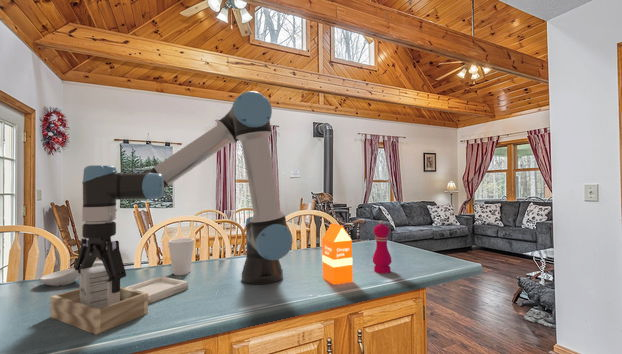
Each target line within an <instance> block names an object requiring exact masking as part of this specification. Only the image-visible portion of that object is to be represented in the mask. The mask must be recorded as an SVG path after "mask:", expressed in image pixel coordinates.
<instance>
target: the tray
mask: <svg viewBox="0 0 622 354" xmlns="http://www.w3.org/2000/svg"><path fill="white" fill-rule="evenodd" d="M125 288H129V289H133V290H137V291H141V292H145V293H148V305H149V304H153V303H154V302H157V301H160V300H162V299H165V298H168V297H170V296H173V295H176V294H178V293H181V292H183V291H186V290H188V289H189V281H187V280H182V279H177V278H171V277H166V276H161V275H160V276H157V277H154V278H151V279H148V280H145V281H142V282H138V283H135V284H131V285H129V286H126V287H125Z"/></svg>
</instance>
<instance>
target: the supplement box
mask: <svg viewBox="0 0 622 354" xmlns="http://www.w3.org/2000/svg"><path fill="white" fill-rule="evenodd" d="M108 279H109V276H108V274H107V272H106V269H105V267H104V265H96V266H92V267H91V268H86V269H81V304H84V305H88V306H91V307H94V308H97V309H99V308H102V307H105V306H107V287H108V282H107V281H108Z"/></svg>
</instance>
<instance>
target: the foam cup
mask: <svg viewBox="0 0 622 354" xmlns="http://www.w3.org/2000/svg"><path fill="white" fill-rule="evenodd" d="M167 244H168V250H169V256H170V263H171V264H170V265H171V271H172V274H174V276H182V275H187V274H190V273H191V267H192V260H193V252H194V246H195V239H194V238H192V237H191V238H190V237H181V238H174V239H170V240H168V243H167ZM189 272H190V273H189Z"/></svg>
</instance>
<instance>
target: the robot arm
mask: <svg viewBox="0 0 622 354" xmlns="http://www.w3.org/2000/svg"><path fill="white" fill-rule="evenodd" d="M272 112H273V111H272V104H271V103H270V101H269V99H268V98H267V97H266V96H265V95H263V94H262V93H260V92H258V91H254V90H253V91H249V90H248V91H245V92H242V93H241V94H240V95H238V96H236V98H235V99H234V101H233V104H232V106H231V108H230V110H229V111H228V112H227V113H226V114H225V115H224V116H223V117H222V118H221V119H219V120H218V121H216V122H217V123H216V125H214V126H213V128H211V129H209V130H208V131H206V132H205V133H204V134H201V136H199V137H196V139H194V140H193V141H191V142H190V143H188V144H186V145H184V147H183V148H180V150H178V151H176V152H175V153H174V154H172V155H170V156H168V157H167V158H166V159H164V160H163V161H161V162H159V163H158V164H156V165H155V166H154V167H152V168H151V169H149V170H147V171H145V172H133V173H132V172H127V173H126V172H125V173H124V172H118V170H117V167H116V166H114V165H95V164H94V165H87V166H85V167H84V169H83V174H82V175H83V178H82V206H81V207H82V216H81V217H82V219H81V221H82V222H83V224H82V230H81V232H82V237H83V238H81V240H80V247H79V252H78V255H77V259H76V262H75V266H74V268H75V270H78V273H79V274H80V277H79V288H80V298H81V269H86V268H91V267H93V266H92V265H93V263H94V262H95V261H97V258H98V260H99V261H102V262H103V265H104V267H105V269H106V272H107V274H108V276H109V279H108V281H107V282H108V287H107V306H108V305H111V304H114V303H116V302H119V301H120V286H121V280H122V279H123V278H126V277H127V272H126V269H125V266H124V262H123V258H122V253H121V250H120V241H119V240H114V241H113V240H112V237H113V236H115V235H116V234H117V222H115V220H116V219H117V210H118V209H117V208H116V207H117V200H120V201H121V200H149V201H150V200H155V199H156V200H157V199H161V198H163V197H164V193H165V189H166V188H167V187H168V186H170V185H172V184H173V183H174V182H176V181H177V180H178V179H180V178H181V177H183V176H184V175H186V174H187V173H189V172H190V171H192V170H193V169H194V168H196V167H197V166H199V165H200V164H202V163H203V162H205V161H206V160H207V159H209V158H211V157H212V156H213V155H214V154H216V153H218V152H219V151H221V150H222V149H223V148H225V147H227V146H228V145H229V144H233V145H235V144H236V143H237V142H238V141H239V142H240V143H241V146H242V152H243V158H244V166H245V170H246V177H247V182H248V189H249V195H250V200H251V205H252V213H253V215H252V216H249V217H247V218H246V219H245V238H246V239H245V245H246V246H245V248H246V253H245V254H246V255H245V256H246V258H245V262H244V264H243V268H242V271H241V281H242V282H244V283H245V284H249V285H267V284H272V283H276V282H279V281H281V280H282V279H283V278H284V275H283V274H284V273H283V271H284V270H283V268H282V264H281V262H280V259H282V258H284V257H286V256H288V253H289V252H290V250H292V249H291V248H292V247H293V243H294V241H293V239H294V238H293V234H292V232H291V231H290V229H289V228H288V226H287V225H288V224H287V220H286V214H285V213H284V212H282V211H281V209H280V206H279V199H278V194H277V185H276V181H275V174H274V167H273V163H272V162H273V161H272V156H271V149H270V143H269V138H270V136H271V135H272V133H273V132H272V128H271V121H270V120H271V118H272V114H273V113H272Z"/></svg>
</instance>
